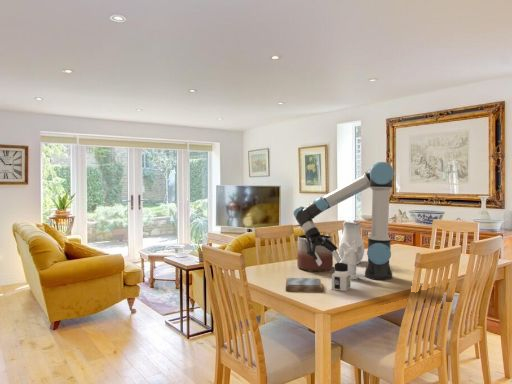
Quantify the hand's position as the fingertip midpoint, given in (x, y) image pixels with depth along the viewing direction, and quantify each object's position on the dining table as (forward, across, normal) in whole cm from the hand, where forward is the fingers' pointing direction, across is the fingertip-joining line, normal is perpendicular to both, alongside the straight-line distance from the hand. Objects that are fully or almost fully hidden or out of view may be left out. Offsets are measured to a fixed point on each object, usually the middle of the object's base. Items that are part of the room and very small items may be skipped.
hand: (330, 262), depth 206 cm
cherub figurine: (+5, -23, -13) cm, 27 cm away
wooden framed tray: (+4, +13, -13) cm, 19 cm away
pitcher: (-19, -57, -36) cm, 70 cm away
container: (+14, -1, -4) cm, 14 cm away
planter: (-17, -22, -34) cm, 44 cm away
